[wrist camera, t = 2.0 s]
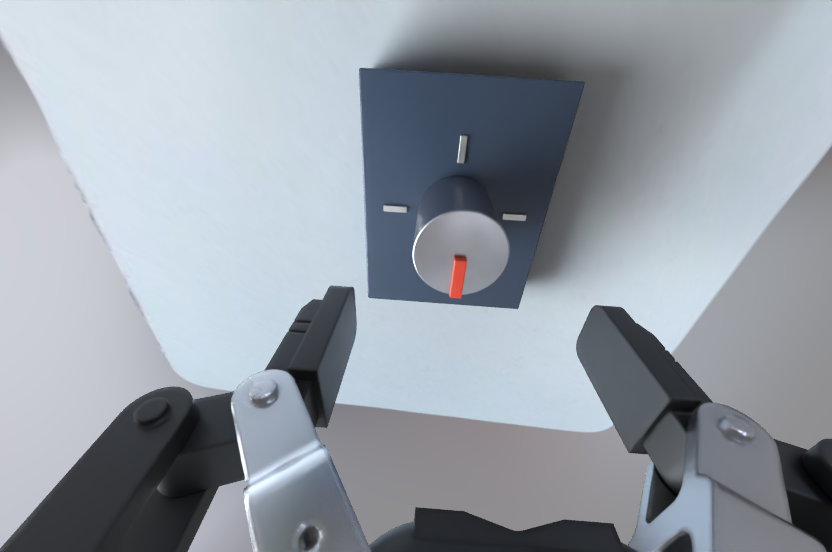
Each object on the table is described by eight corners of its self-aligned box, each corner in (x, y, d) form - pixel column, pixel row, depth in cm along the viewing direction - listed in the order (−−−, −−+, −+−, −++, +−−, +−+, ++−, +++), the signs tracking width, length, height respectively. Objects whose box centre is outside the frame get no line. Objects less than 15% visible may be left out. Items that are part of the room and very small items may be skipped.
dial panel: (369, 69, 17) (357, 67, 15) (564, 81, 17) (587, 81, 15) (374, 276, 25) (367, 299, 22) (510, 286, 25) (518, 310, 22)
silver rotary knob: (420, 173, 17) (414, 209, 12) (497, 178, 17) (522, 216, 12) (416, 242, 20) (410, 295, 15) (484, 247, 20) (500, 302, 15)
